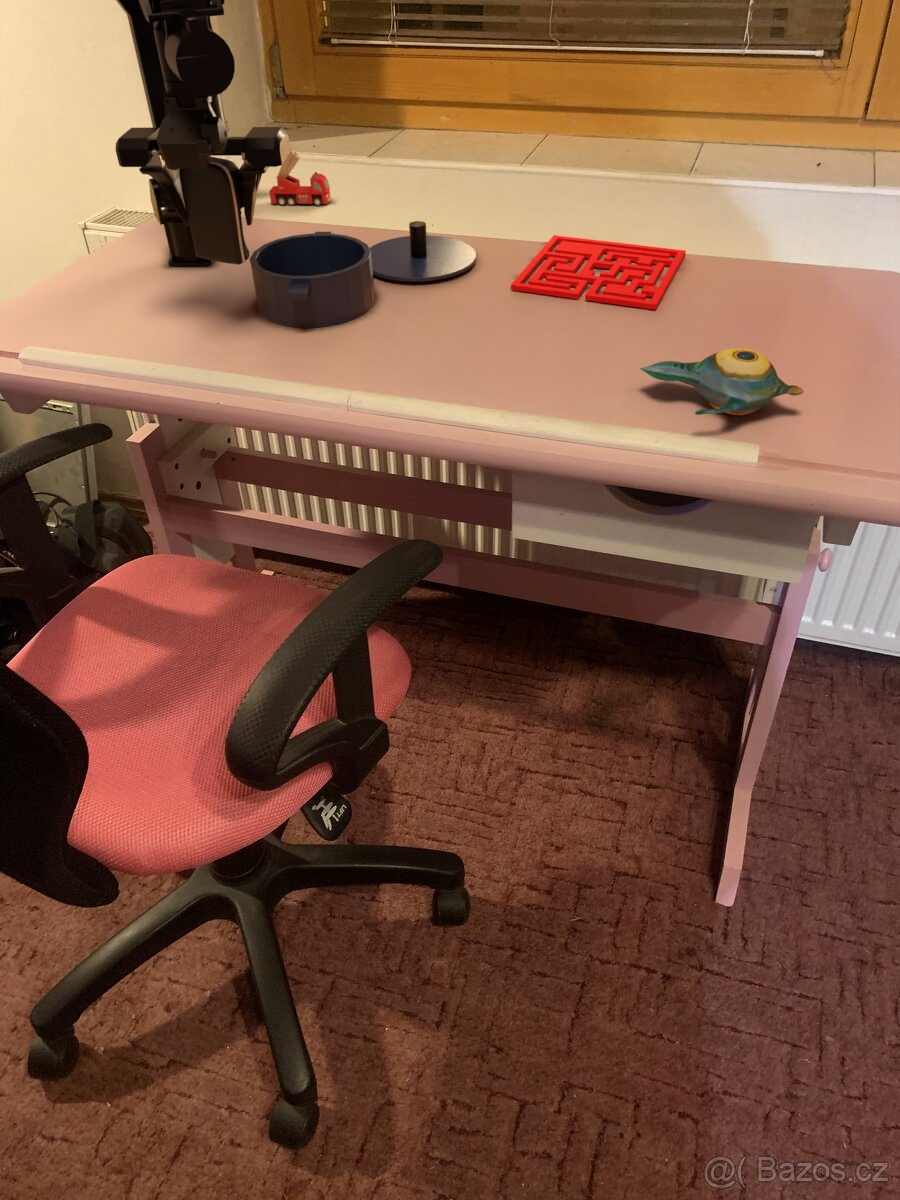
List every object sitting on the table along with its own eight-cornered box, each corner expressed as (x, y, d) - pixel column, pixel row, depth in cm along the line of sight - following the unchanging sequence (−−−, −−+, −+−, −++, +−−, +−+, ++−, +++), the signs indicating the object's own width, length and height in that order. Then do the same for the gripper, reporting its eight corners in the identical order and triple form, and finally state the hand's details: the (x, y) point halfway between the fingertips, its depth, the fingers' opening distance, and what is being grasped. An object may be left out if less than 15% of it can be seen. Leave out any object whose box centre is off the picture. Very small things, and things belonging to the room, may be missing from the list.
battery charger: (258, 256, 109) (243, 157, 101) (241, 267, 107) (224, 167, 99) (211, 247, 111) (193, 149, 103) (193, 258, 109) (173, 159, 101)
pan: (242, 337, 112) (233, 287, 108) (275, 272, 128) (267, 226, 123) (364, 337, 111) (359, 286, 107) (382, 272, 127) (378, 226, 122)
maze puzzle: (510, 289, 121) (510, 284, 120) (553, 239, 134) (553, 235, 134) (655, 309, 115) (656, 304, 114) (685, 255, 129) (685, 250, 128)
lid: (355, 286, 123) (352, 245, 120) (369, 242, 136) (366, 204, 132) (474, 285, 122) (474, 244, 119) (477, 242, 135) (477, 203, 131)
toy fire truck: (329, 206, 149) (322, 144, 142) (249, 205, 150) (239, 143, 143) (333, 200, 151) (326, 138, 145) (255, 199, 152) (245, 138, 146)
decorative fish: (730, 368, 103) (740, 319, 99) (799, 417, 94) (813, 366, 90) (634, 391, 99) (640, 341, 95) (696, 444, 91) (706, 392, 87)
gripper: (79, 95, 90) (120, 249, 101) (258, 94, 89) (281, 250, 99) (116, 70, 98) (150, 215, 109) (281, 69, 97) (300, 215, 108)
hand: (218, 224), depth 106 cm, fingers closed on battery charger, 7 cm apart
